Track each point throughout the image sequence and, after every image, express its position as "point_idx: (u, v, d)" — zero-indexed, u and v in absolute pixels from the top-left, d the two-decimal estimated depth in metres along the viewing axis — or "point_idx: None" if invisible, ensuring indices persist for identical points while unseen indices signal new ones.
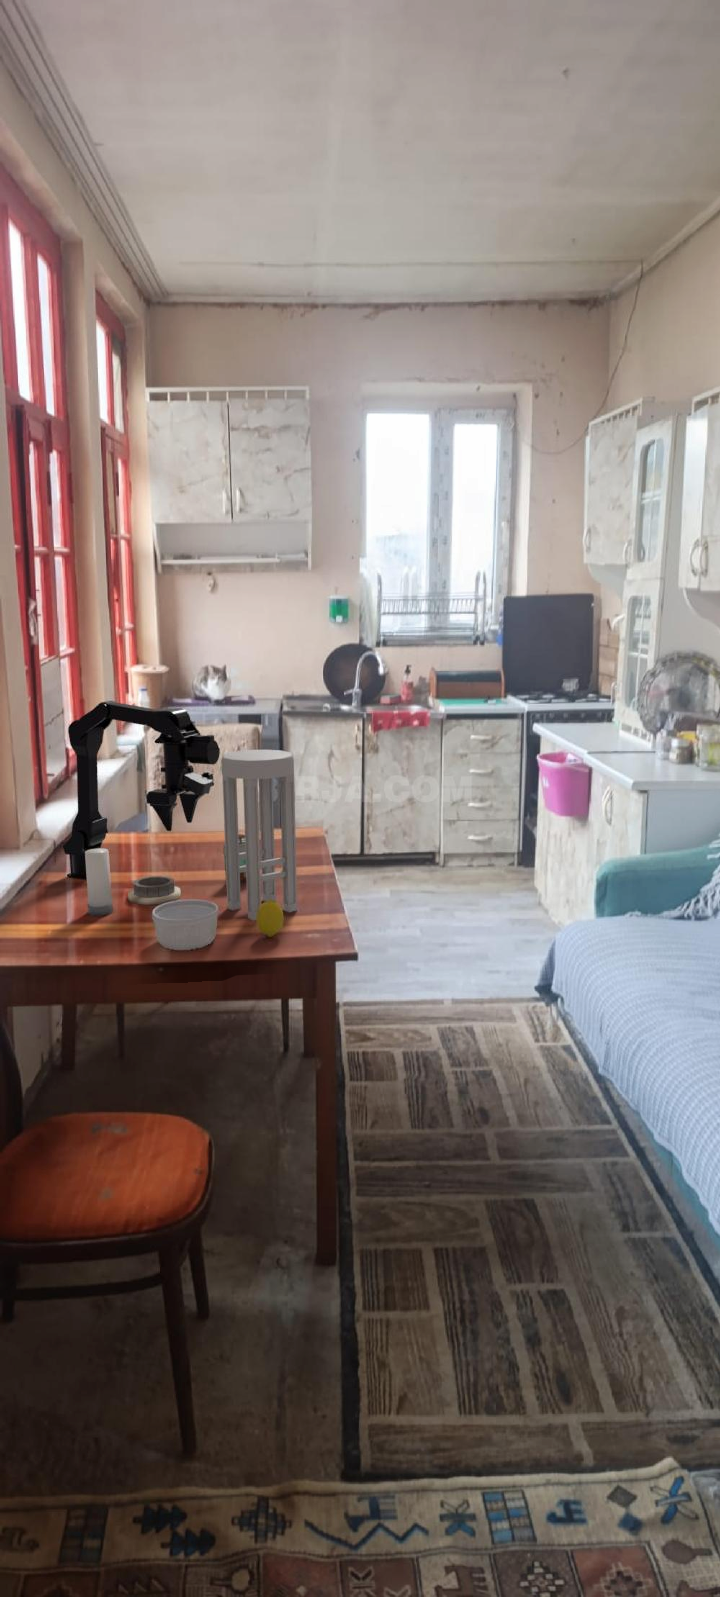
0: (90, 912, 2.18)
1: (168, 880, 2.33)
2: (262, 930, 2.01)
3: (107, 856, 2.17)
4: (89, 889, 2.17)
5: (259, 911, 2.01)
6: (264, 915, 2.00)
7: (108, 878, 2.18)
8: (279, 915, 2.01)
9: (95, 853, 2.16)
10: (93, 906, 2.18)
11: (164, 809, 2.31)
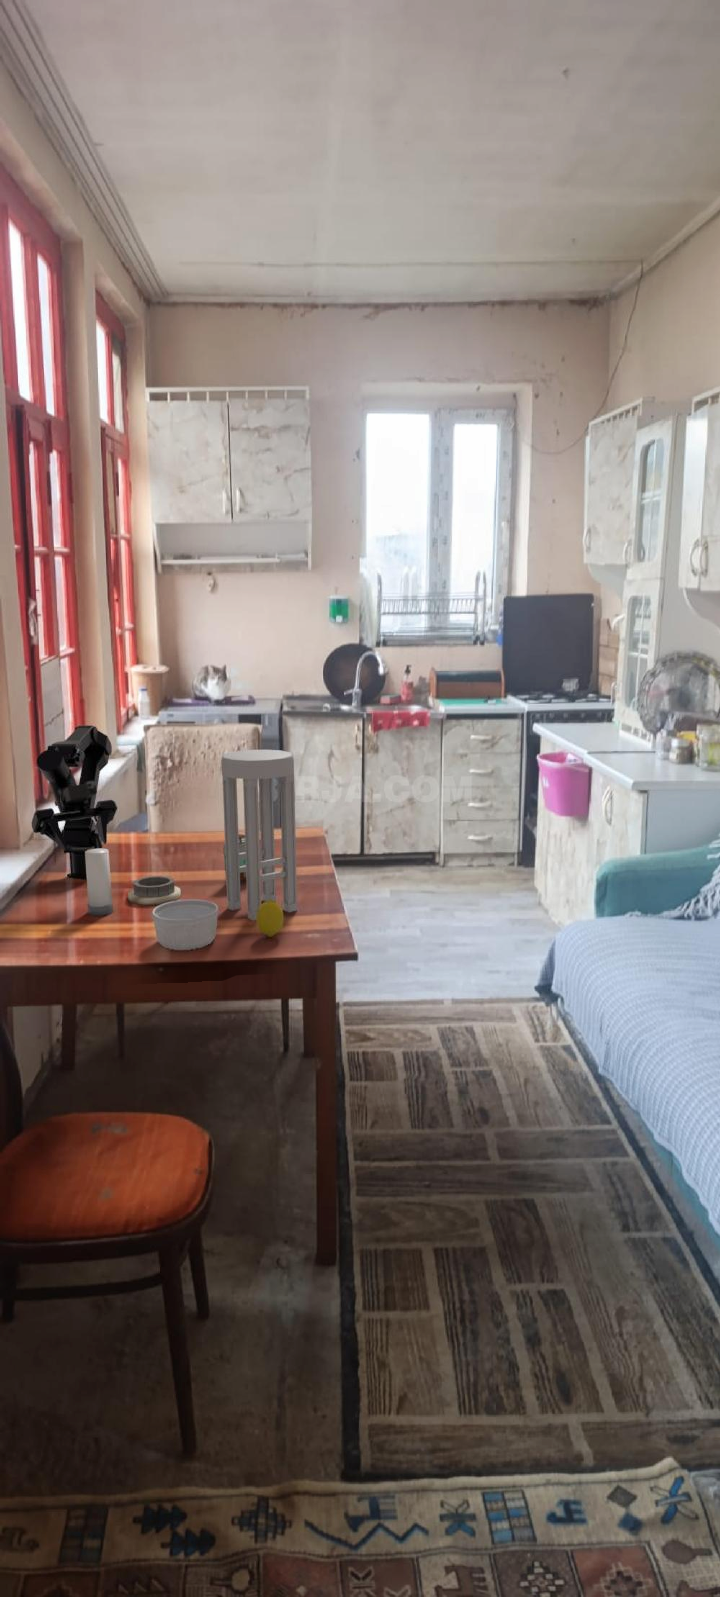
0: (90, 912, 2.18)
1: (168, 880, 2.33)
2: (262, 930, 2.01)
3: (107, 856, 2.17)
4: (89, 889, 2.17)
5: (259, 911, 2.01)
6: (264, 915, 2.00)
7: (108, 878, 2.18)
8: (279, 915, 2.01)
9: (95, 853, 2.16)
10: (93, 906, 2.18)
11: (53, 831, 2.23)
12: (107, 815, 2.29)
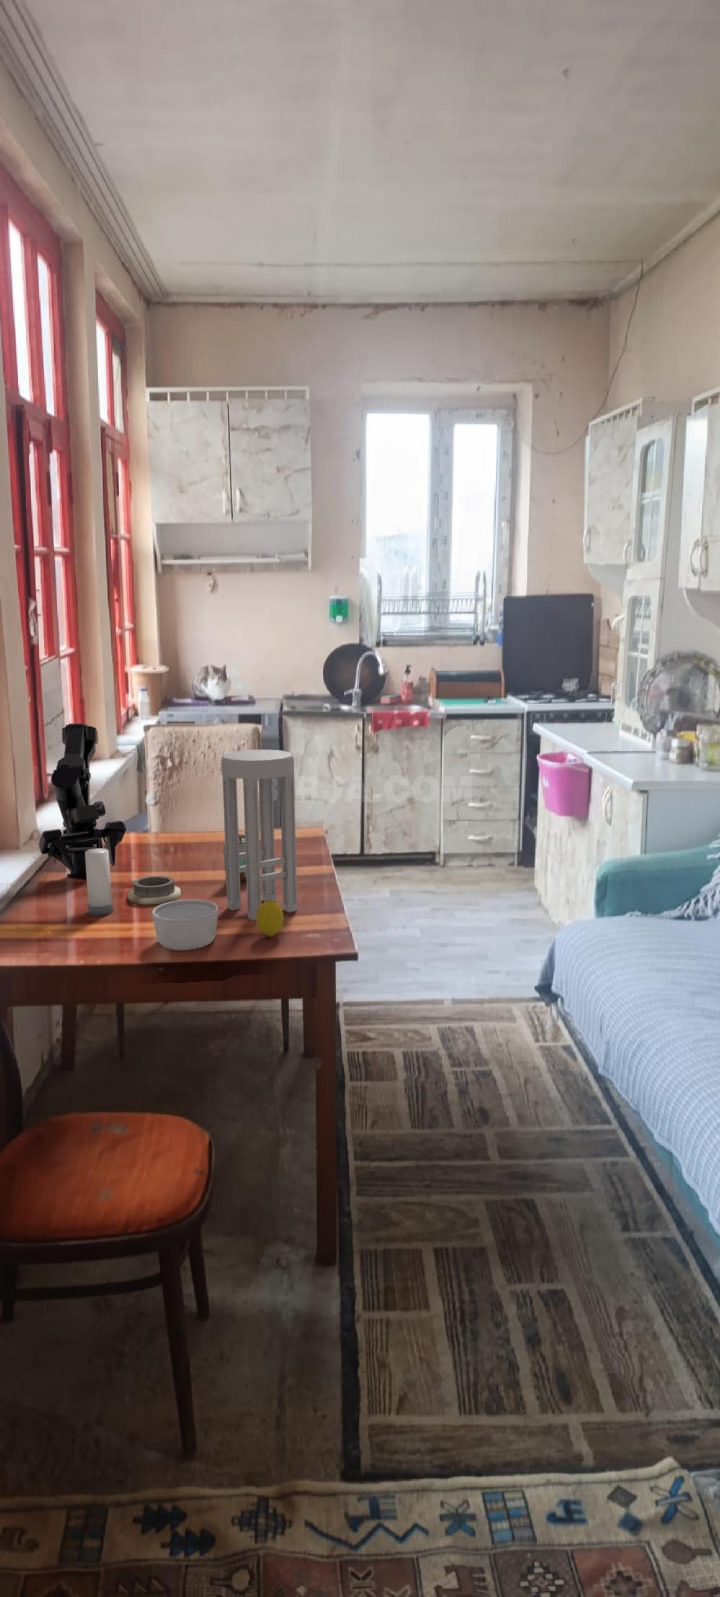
0: (90, 912, 2.18)
1: (168, 880, 2.33)
2: (262, 930, 2.01)
3: (107, 856, 2.17)
4: (89, 889, 2.17)
5: (259, 911, 2.01)
6: (264, 915, 2.00)
7: (108, 878, 2.18)
8: (279, 915, 2.01)
9: (95, 853, 2.16)
10: (93, 906, 2.18)
11: (61, 852, 2.20)
12: (116, 836, 2.25)
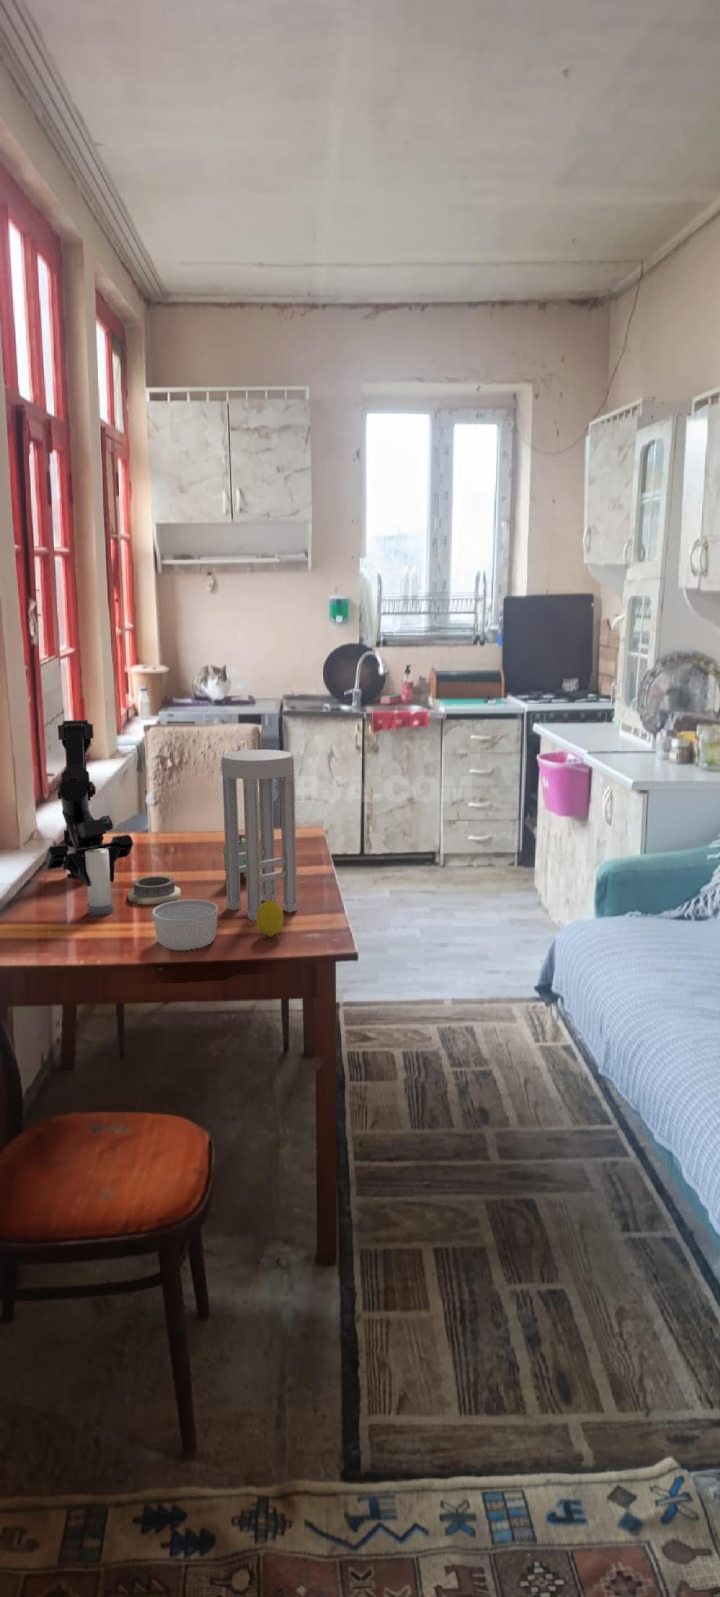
0: (90, 912, 2.18)
1: (168, 880, 2.33)
2: (262, 930, 2.01)
3: (107, 856, 2.17)
4: (89, 889, 2.17)
5: (259, 911, 2.01)
6: (264, 915, 2.00)
7: (108, 878, 2.18)
8: (279, 915, 2.01)
9: (95, 853, 2.16)
10: (93, 906, 2.18)
11: (76, 866, 2.18)
12: (115, 852, 2.22)
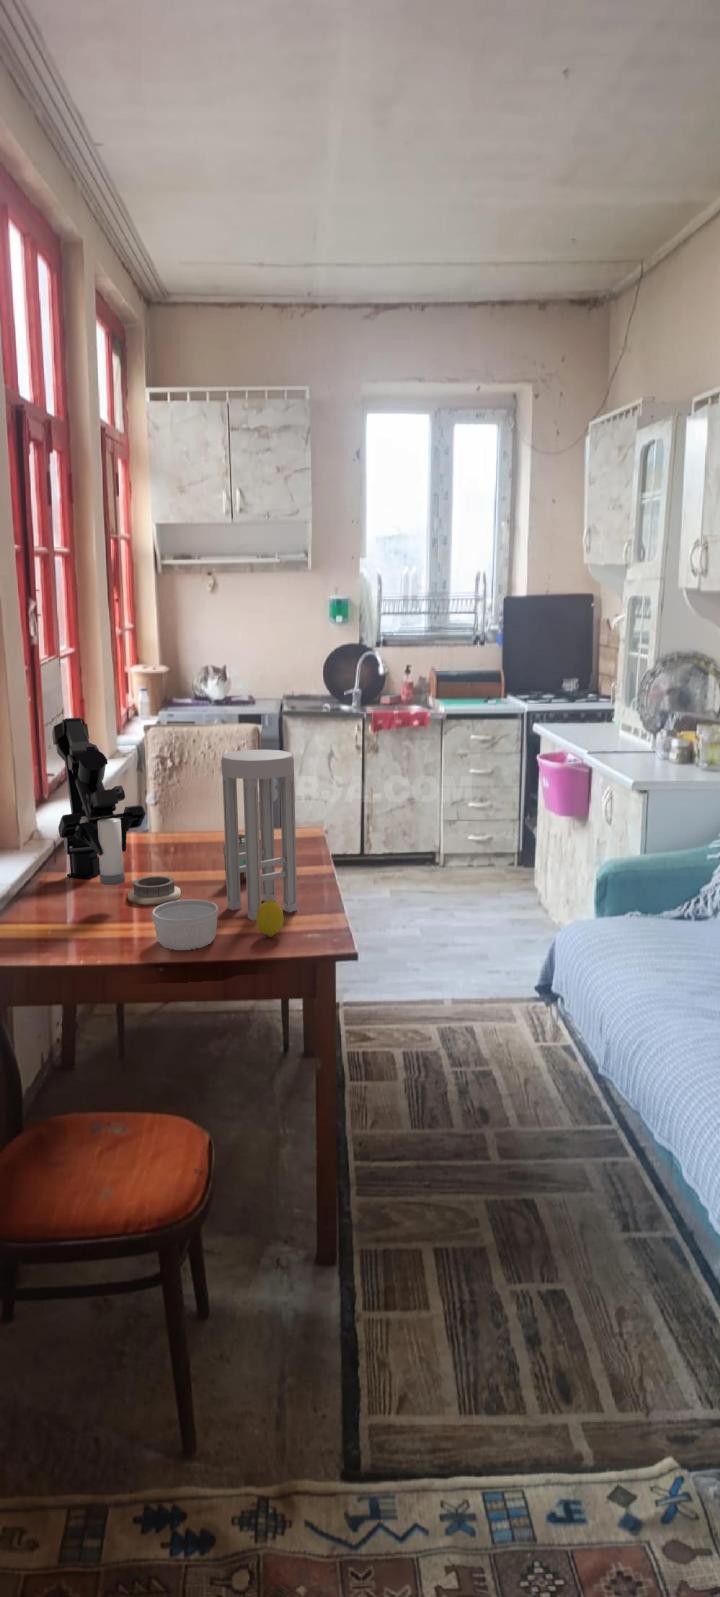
0: (102, 881, 2.20)
1: (168, 880, 2.33)
2: (262, 930, 2.01)
3: (119, 826, 2.19)
4: (101, 858, 2.19)
5: (259, 911, 2.01)
6: (264, 915, 2.00)
7: (120, 847, 2.20)
8: (279, 915, 2.01)
9: (107, 822, 2.17)
10: (105, 875, 2.19)
11: (89, 835, 2.20)
12: (127, 822, 2.23)
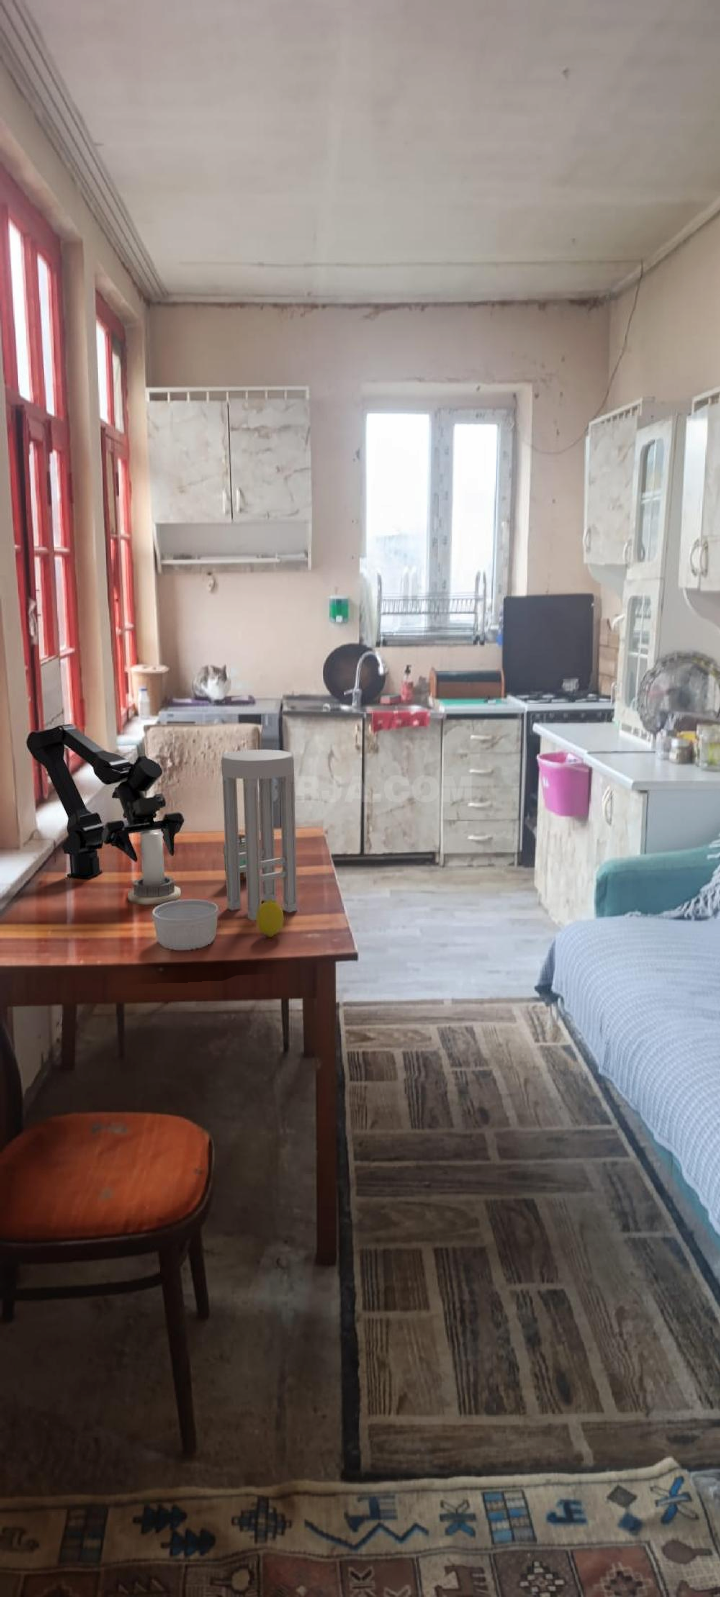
0: None
1: (168, 880, 2.33)
2: (262, 930, 2.01)
3: (161, 838, 2.28)
4: (144, 869, 2.28)
5: (259, 911, 2.01)
6: (264, 915, 2.00)
7: (162, 858, 2.29)
8: (279, 915, 2.01)
9: (150, 835, 2.27)
10: (148, 885, 2.29)
11: (124, 842, 2.28)
12: (174, 827, 2.33)
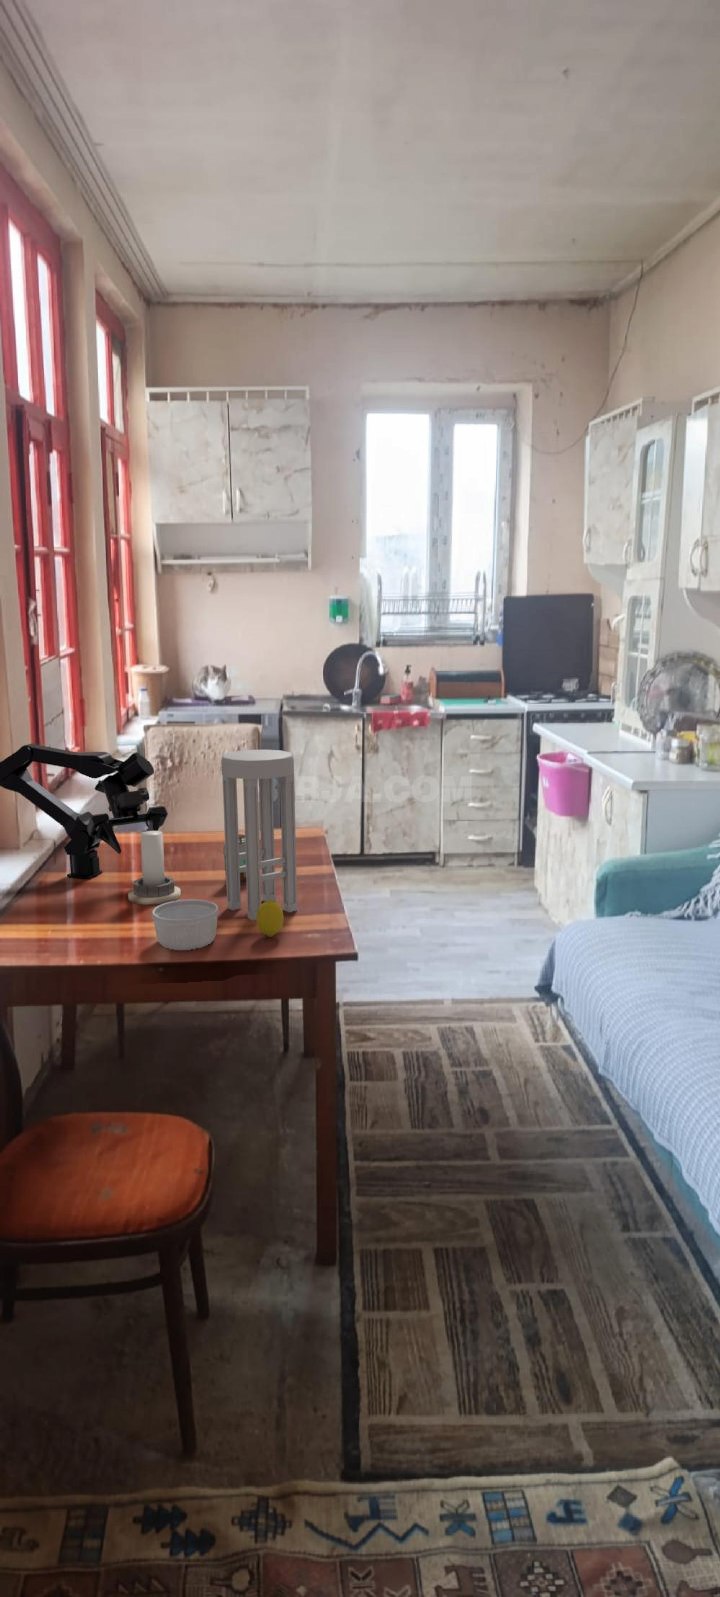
0: None
1: (168, 880, 2.33)
2: (262, 930, 2.01)
3: (161, 838, 2.28)
4: (144, 869, 2.28)
5: (259, 911, 2.01)
6: (264, 915, 2.00)
7: (162, 859, 2.29)
8: (279, 915, 2.01)
9: (150, 835, 2.27)
10: (148, 885, 2.29)
11: (108, 835, 2.35)
12: (158, 820, 2.40)
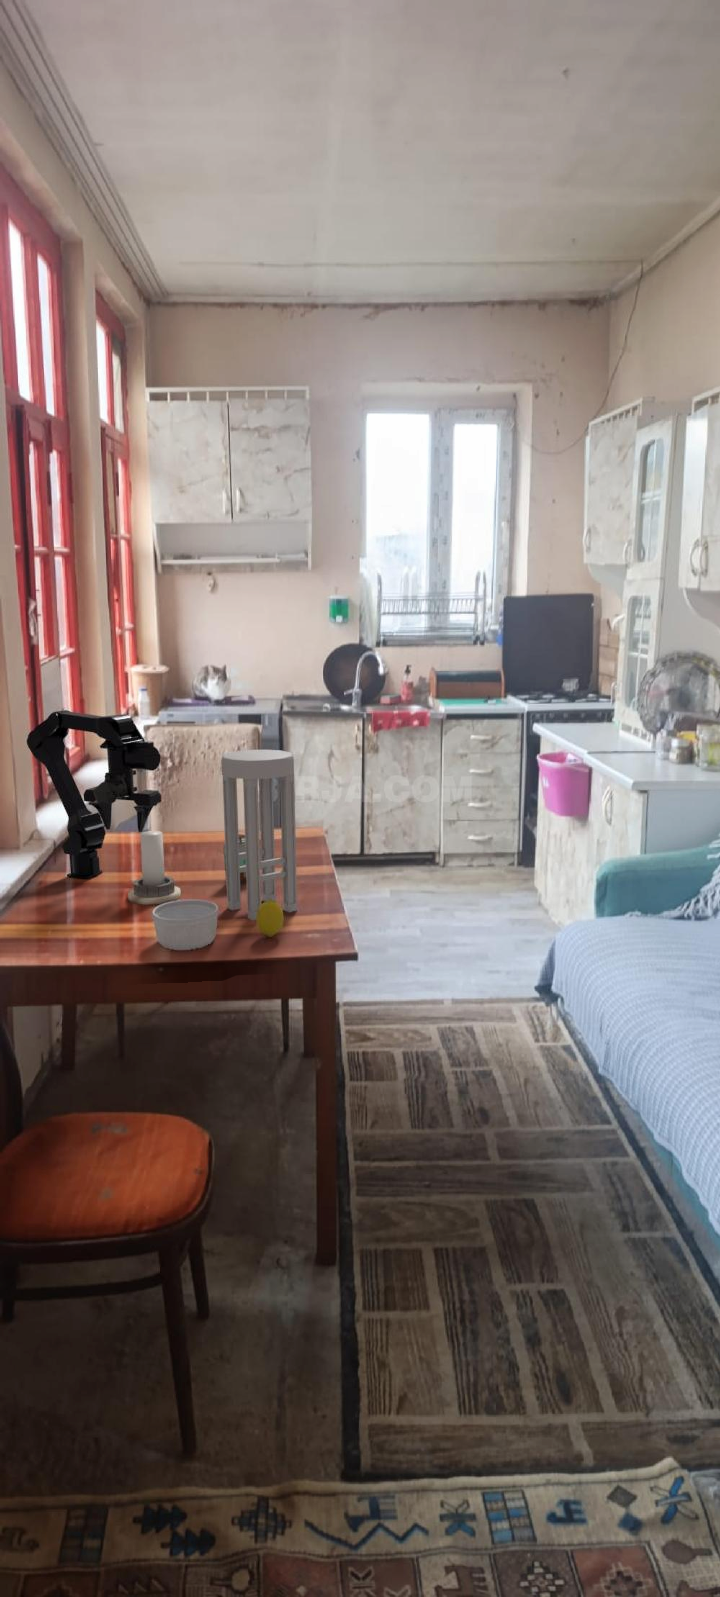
0: None
1: (168, 880, 2.33)
2: (262, 930, 2.01)
3: (161, 838, 2.28)
4: (144, 869, 2.28)
5: (259, 911, 2.01)
6: (264, 915, 2.00)
7: (162, 859, 2.29)
8: (279, 915, 2.01)
9: (150, 835, 2.27)
10: (148, 885, 2.29)
11: None
12: (140, 810, 2.35)
